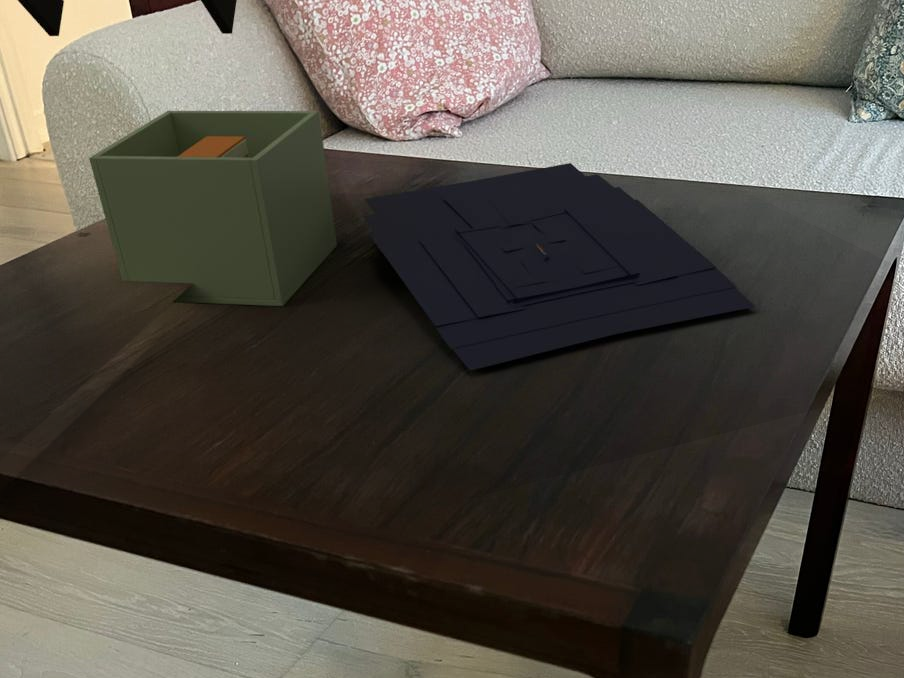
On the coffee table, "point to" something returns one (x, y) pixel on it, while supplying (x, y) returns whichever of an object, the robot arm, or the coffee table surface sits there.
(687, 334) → the coffee table surface
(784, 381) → the coffee table surface
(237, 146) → the block
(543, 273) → the folded navy cloth
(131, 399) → the coffee table surface
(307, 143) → the bin
